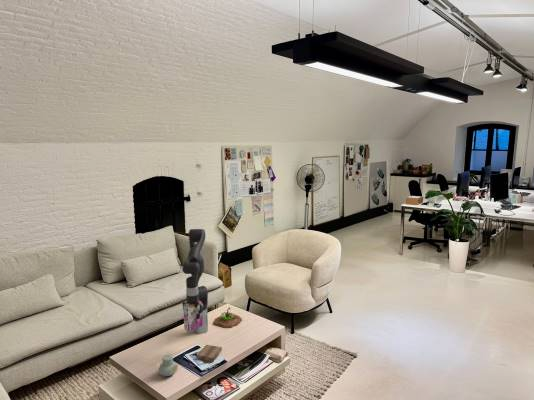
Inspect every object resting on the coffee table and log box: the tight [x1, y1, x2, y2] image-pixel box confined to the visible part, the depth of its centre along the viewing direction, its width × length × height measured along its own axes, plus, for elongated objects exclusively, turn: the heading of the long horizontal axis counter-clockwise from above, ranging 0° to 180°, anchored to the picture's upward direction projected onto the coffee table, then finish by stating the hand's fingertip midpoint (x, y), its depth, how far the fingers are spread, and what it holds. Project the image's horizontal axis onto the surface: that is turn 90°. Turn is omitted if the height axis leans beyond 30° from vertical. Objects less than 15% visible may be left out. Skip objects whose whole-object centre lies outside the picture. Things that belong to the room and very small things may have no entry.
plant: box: [213, 307, 243, 329], centre depth 285 cm, size 20×20×11 cm
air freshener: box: [158, 354, 179, 377], centre depth 221 cm, size 11×8×10 cm
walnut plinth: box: [196, 344, 223, 363], centre depth 240 cm, size 11×13×3 cm
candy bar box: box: [182, 300, 202, 332], centre depth 239 cm, size 11×5×16 cm, turn 136°
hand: (193, 318), depth 240 cm, fingers closed on candy bar box, 6 cm apart
